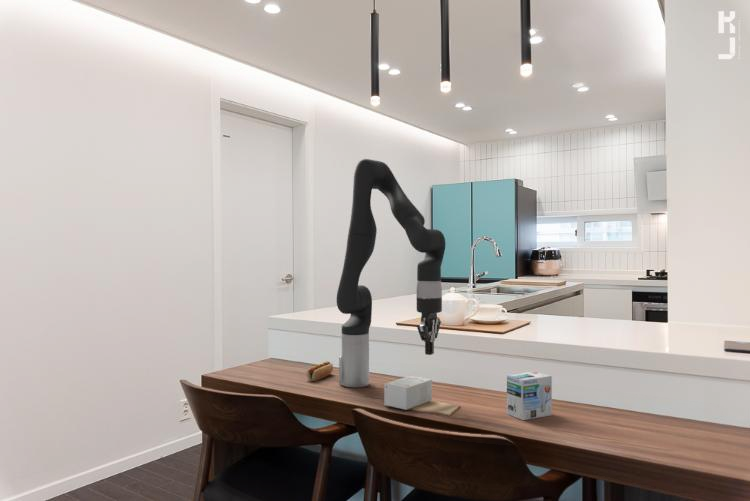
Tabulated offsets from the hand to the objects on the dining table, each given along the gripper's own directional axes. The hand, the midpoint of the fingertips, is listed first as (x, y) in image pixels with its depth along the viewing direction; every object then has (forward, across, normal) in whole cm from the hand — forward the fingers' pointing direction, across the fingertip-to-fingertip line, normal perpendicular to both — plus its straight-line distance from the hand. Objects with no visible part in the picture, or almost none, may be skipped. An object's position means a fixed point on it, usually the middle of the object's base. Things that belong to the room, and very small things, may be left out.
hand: (429, 354), depth 158 cm
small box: (+10, -1, -3) cm, 11 cm away
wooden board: (+14, +6, 0) cm, 15 cm away
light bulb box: (+14, 0, +29) cm, 32 cm away
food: (+14, -10, -46) cm, 50 cm away
